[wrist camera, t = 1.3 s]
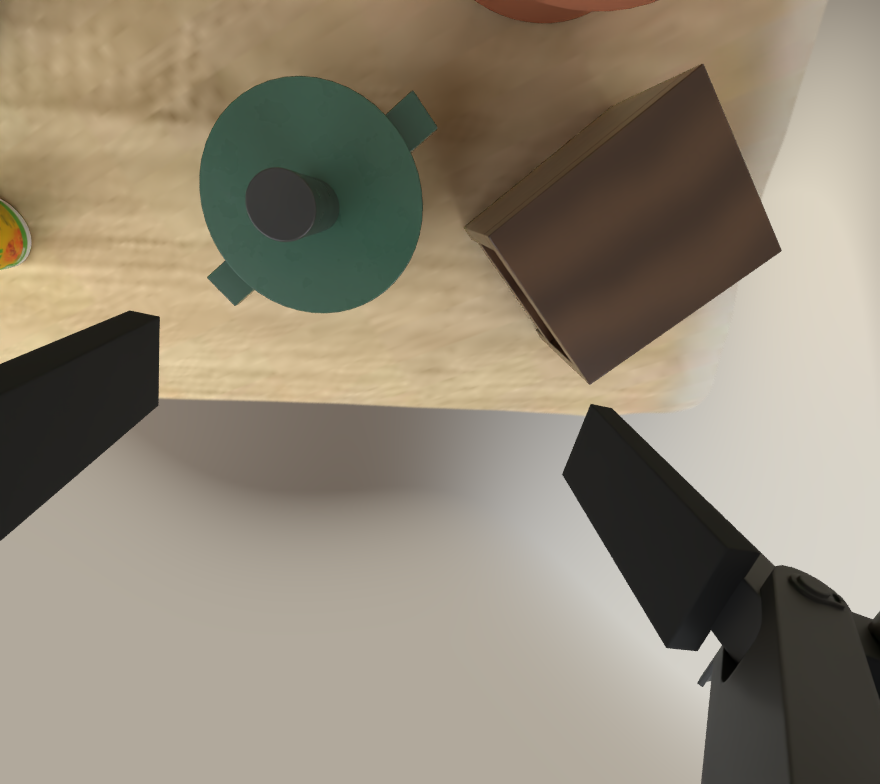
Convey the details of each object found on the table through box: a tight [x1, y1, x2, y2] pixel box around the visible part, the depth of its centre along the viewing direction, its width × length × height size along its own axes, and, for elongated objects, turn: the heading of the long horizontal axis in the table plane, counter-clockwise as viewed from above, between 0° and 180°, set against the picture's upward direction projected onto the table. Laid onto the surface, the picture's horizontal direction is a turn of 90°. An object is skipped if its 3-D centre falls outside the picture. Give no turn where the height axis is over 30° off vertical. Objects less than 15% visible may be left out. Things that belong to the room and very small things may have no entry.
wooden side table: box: [464, 64, 781, 384], centre depth 32 cm, size 12×14×11 cm
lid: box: [200, 76, 423, 313], centre depth 24 cm, size 13×13×9 cm
